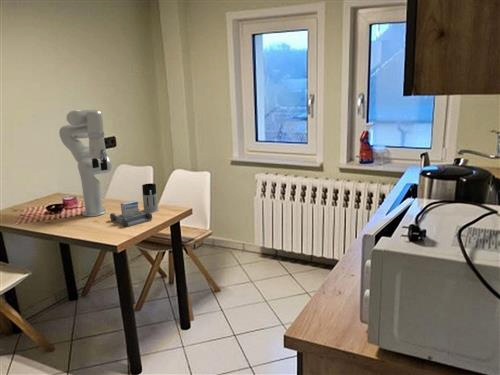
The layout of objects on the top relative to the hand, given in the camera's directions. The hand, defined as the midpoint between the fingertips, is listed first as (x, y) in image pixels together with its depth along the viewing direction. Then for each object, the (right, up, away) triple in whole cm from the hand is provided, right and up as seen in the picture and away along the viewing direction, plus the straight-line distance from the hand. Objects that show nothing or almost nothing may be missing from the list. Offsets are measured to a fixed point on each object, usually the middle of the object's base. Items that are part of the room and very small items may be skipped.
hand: (100, 168), depth 216 cm
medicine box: (+14, -26, +7) cm, 30 cm away
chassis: (+14, -27, +7) cm, 31 cm away
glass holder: (+21, -23, +22) cm, 39 cm away
